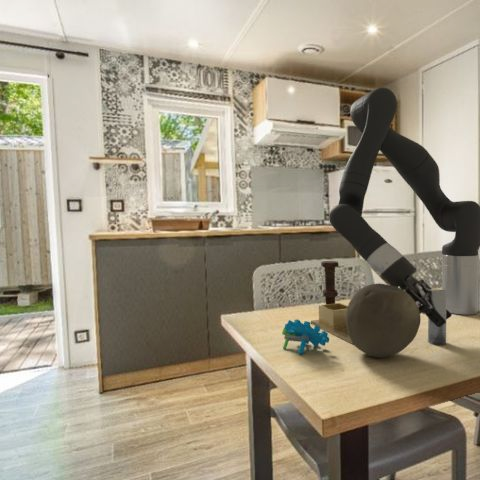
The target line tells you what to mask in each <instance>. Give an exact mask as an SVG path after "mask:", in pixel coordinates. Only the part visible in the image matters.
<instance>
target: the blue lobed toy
mask: <svg viewBox="0 0 480 480" xmlns="http://www.w3.org/2000/svg"><path fill="white" fill-rule="evenodd" d="M284 324H285V325H284V327H283V329H282V332H281V334H282V335H283V336H284V342H283V347H282V349H284V350H286V349H287V347H288V344H289V342H298V343H299V342H300V344H299V348H298V351H297V354H299V355H304V354H303V353H304V351H305V347H306V345H309V343H311V344H312V345H313V346H314V347H319V345H320V346H323V347H324V346H326V343H328V344H329V343H330V337H329V336H328V335H329V332H327V331H325V330H322V331H321V327H319V326H316V325H314V327H312V326H311V321H307V320H305V321H304V322H303V323H302V321H300V320H299V318H298V319H294V320H293V321H292V320H290V319H289V320H288V321H287V323H284ZM320 331H321V332H320Z"/></svg>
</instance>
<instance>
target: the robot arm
mask: <svg viewBox="0 0 480 480" xmlns="http://www.w3.org/2000/svg"><path fill="white" fill-rule="evenodd" d="M397 109H398V101H397V96H396V94H395V93H394V92H393V91H392V90H391V89H390V88H387V87H379V88H376V89H373V90H371V91H370V92H368V93H366V94H365V95H362V96H361V97H359V98H357V99H356V100H355V101H354V102H353V103H352V104H351V107H350V118H351V121H352V123H353V124H354V126H355V127H356V128H357V130H358V131H360V132H361V133H362V135H361V137H360V139H359V142H358V143H357V145H356V147H355V148H354V150H353V152H352V153H351V155H350V156H349V159H348V160H347V162H346V165H345V168H344V170H343V173H342V177H341V181H340V185H339V190H338V191H339V192H338V193H339V194H338V195H339V201H338V204H337V205H335V206H334V207H332V209H331V210H330V211H329V214H328V215H329V216H328V218H329V219H328V220H329V223H330V224H331V226H332V227H333V229H334V230H335V231H336V232H337V233H339V234H340V235H341V236H342V237H343V238H344V239H345V240H346V241H347V242H348V243H349V244H351V245H352V247H353V248H354V250H355V251H356V253H358V255H359V256H361V258H362V259H363V260H364V261H366V263H367V264H368V265H369V267H370V268H371V270H372V271H373V272H374V273H375V274H376V275H377V276H378V277H379V278H380V279H381V280H382V281H383V282H384V284H386V285H391V286H396V287H399V288H400V289H402V290H404V291H405V292H407V293H408V294H409V295H410V296H411V297H412V298H413V299H414V301H415V302H416V304H417V306H418V308H419V311H420V315H421V314H423V315H426V317H427V318H429V319H430V320H431V321H432V322H433V323H434V324H435V325H436V326H437V327H441V326H442V325H443V324H445V323H446V324H447V320H448V319H450V318H451V317H452V314H455V315H464V316H465V315H476V314H478V313H479V312H480V280H479V250H480V205H479V204H478V203H477V202H476V201H474V200H461V201H452V200H451V199H450V198H448V196H447V195H446V194H445V192H444V191H443V190H442V188H441V186H440V181H441V179H440V168H439V164H438V163H437V162H436V160H435V159H434V158H433V157H432V155H431V154H430V153H429V151H428V150H427V149H426V148H425V147H424V146H423V145H421V144H419V143H418V142H416V141H415V140H413V139H411V138H409V137H407V136H404V135H402V134H401V133H399V132H397V131H396V130H394V129H393V128H392V127H391V124H392V122H393V121H394V118H395V116H396V113H397ZM379 153H382V155H383V156H384V157H385V158H386V159H387V161H388V162H389V163H390V164H391V165H392V166H393V168H394V169H395V170H396V171H397V173H398V174H399V176H401V178H402V179H403V180H404V182H405V183H407V185H408V186H409V187H410V188H411V189H412V191H413V192H414V193H415V195H416V196H417V198H419V200H420V201H421V202H422V203H423V205H424V207H425V208H426V210H427V211H428V212H429V215H430V216H431V218H432V219H433V221H434V222H435V223H436V225H437V226H438V227H439V229H441V230H443V231H445V232H449V233H450V232H451V233H455V234H454V238H453V240H452V241H450V242H447V243H445V244H444V245H442V248H441V253H442V254H441V290H445V291H446V320H445V319H444V318H443V317H442V316H441V315H440V314H439V313H438V312H437V311H436V310H435V309H434V308H433V306H432V305H431V304H430V303H429V301H428V290H430V289H432V288H431V286H429V285H428V284H427V282H426V281H425V280H424V279H422V278H420V279H419V280H418V279H417V278H415V277H414V276H413V275H414V274H415V273H417V272H418V271H417V269H418V268H417V267H415V265H413V264H412V263H411V262H410V261H409V260H408V259H407V258H406V257H405V256H404V255H403V254H402V253H401V252H400V251H399V250H398V249H397V248H395V247H394V246H393V245H392V244H390V243H389V242H388V241H387V240H386V239H385V238H384V237H383V236H381V234H380V233H379V232H377V230H375V229H373V227H372V226H371V225H370V224H369V223H368V222H367V220H365V218H364V217H363V216H362V215H363V209H364V202H365V197H366V194H367V192H368V187H369V183H370V181H371V177H372V176H371V175H372V173H373V172H372V171H373V170H374V165H375V164H376V161H377V157H378V155H379ZM432 308H433V309H432Z"/></svg>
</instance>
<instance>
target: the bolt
mask: <svg viewBox="0 0 480 480" xmlns="http://www.w3.org/2000/svg"><path fill="white" fill-rule="evenodd" d="M320 266H321V267H322V268H324V279H325V280H324V286H325V289H323V290H322V295H323V297H324V298H325V301H324V302H325V305H326V304H334V303H336V298H337V296H338V292H339V291H338V290H337V289H336V279H335V278H336V277H335V276H336V275H335V274H336V268H339V262H338V261H336V260H322V261H321V265H320Z"/></svg>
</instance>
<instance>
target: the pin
mask: <svg viewBox="0 0 480 480" xmlns="http://www.w3.org/2000/svg"><path fill="white" fill-rule="evenodd" d="M428 301H429V303H430V304H431V305H432V306H433V308H434V309H435V310H436V311H437V312H438V313H439V314H440V315H441V316H442V317H443V318H444V319H445V320H446V291H445V290H442V289H437V288H431V289H430V290H428ZM433 308H432V309H433ZM427 318H428V317H427ZM427 320H428V321H427V327H428V328H427V334H428V335H427V342H428V343H429V344H431V345H435V346H446V345H447V322H446V323H445V324H443V325H442V326H441V327H437V326H436V325H435V324H434V323H433V322H432V321H431V320H430V319H429V318H428V319H427ZM446 321H447V320H446Z"/></svg>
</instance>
